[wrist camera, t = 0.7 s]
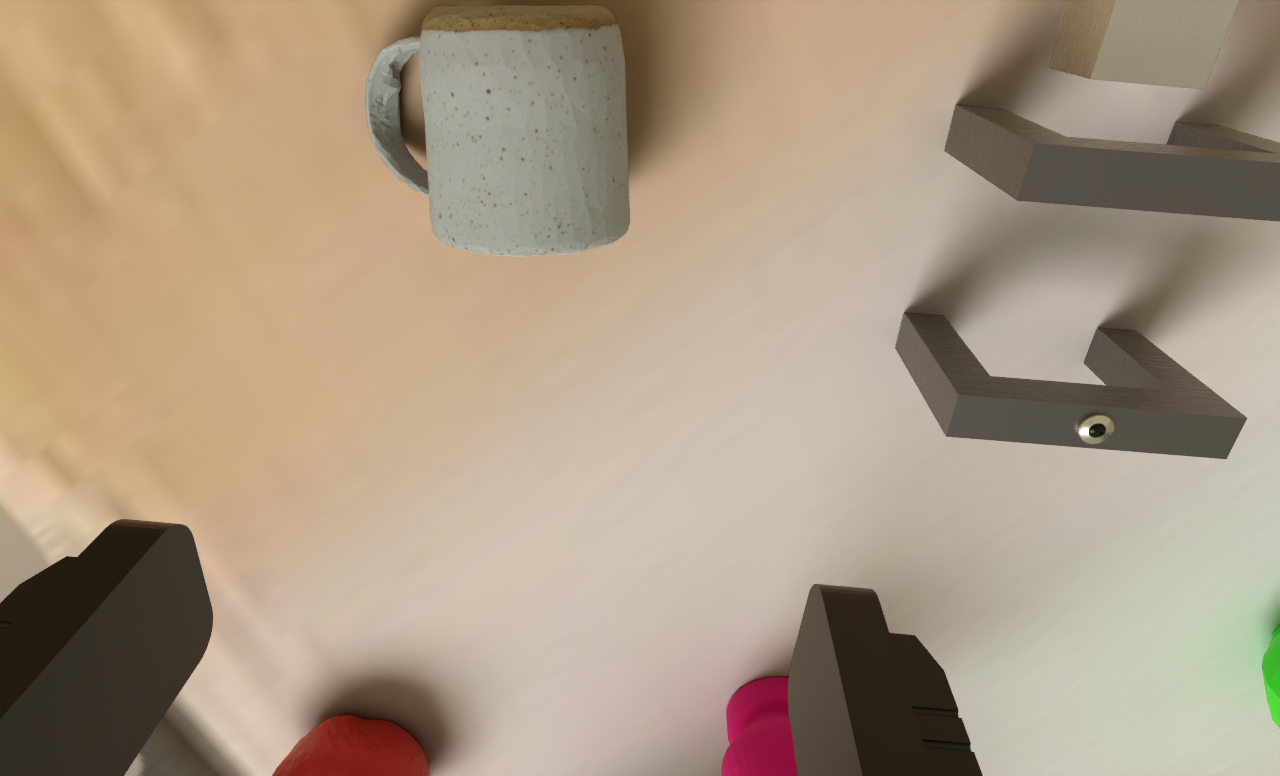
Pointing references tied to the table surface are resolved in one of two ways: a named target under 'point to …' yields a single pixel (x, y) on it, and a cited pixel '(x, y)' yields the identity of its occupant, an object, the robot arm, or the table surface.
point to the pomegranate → (355, 750)
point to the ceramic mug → (513, 126)
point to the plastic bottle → (1273, 676)
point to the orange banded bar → (1142, 40)
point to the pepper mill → (760, 731)
